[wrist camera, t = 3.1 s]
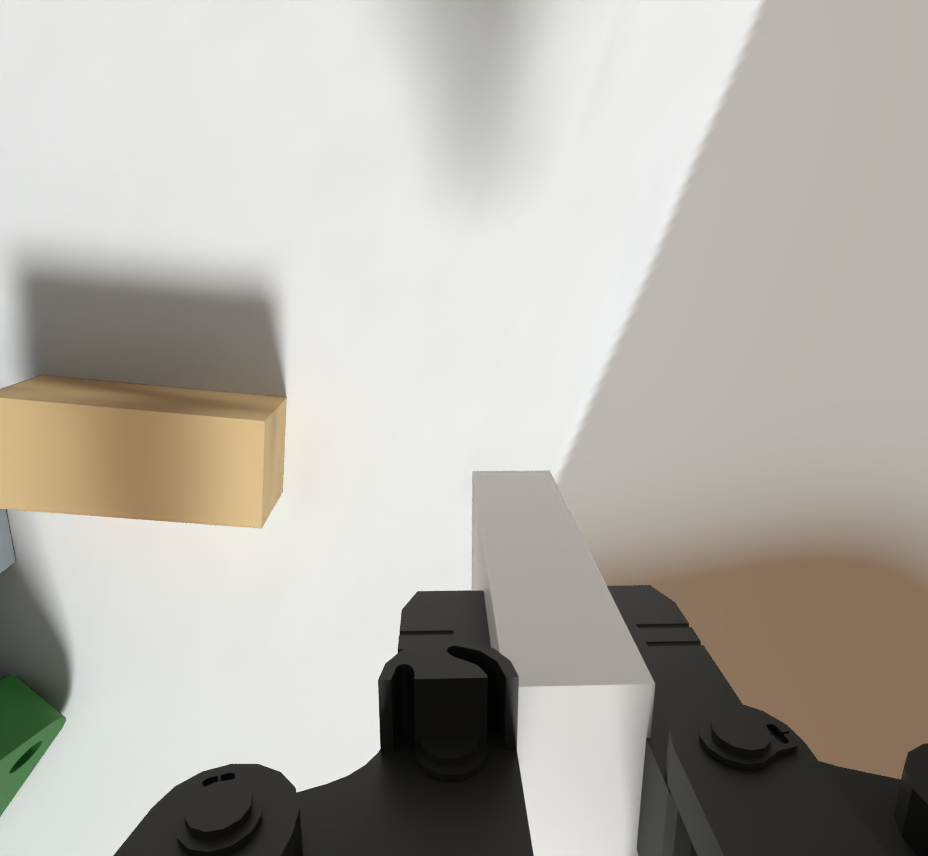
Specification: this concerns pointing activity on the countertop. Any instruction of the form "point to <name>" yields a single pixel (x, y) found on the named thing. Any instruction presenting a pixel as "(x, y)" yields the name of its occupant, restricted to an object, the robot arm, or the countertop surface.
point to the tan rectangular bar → (141, 451)
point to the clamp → (22, 734)
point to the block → (5, 543)
